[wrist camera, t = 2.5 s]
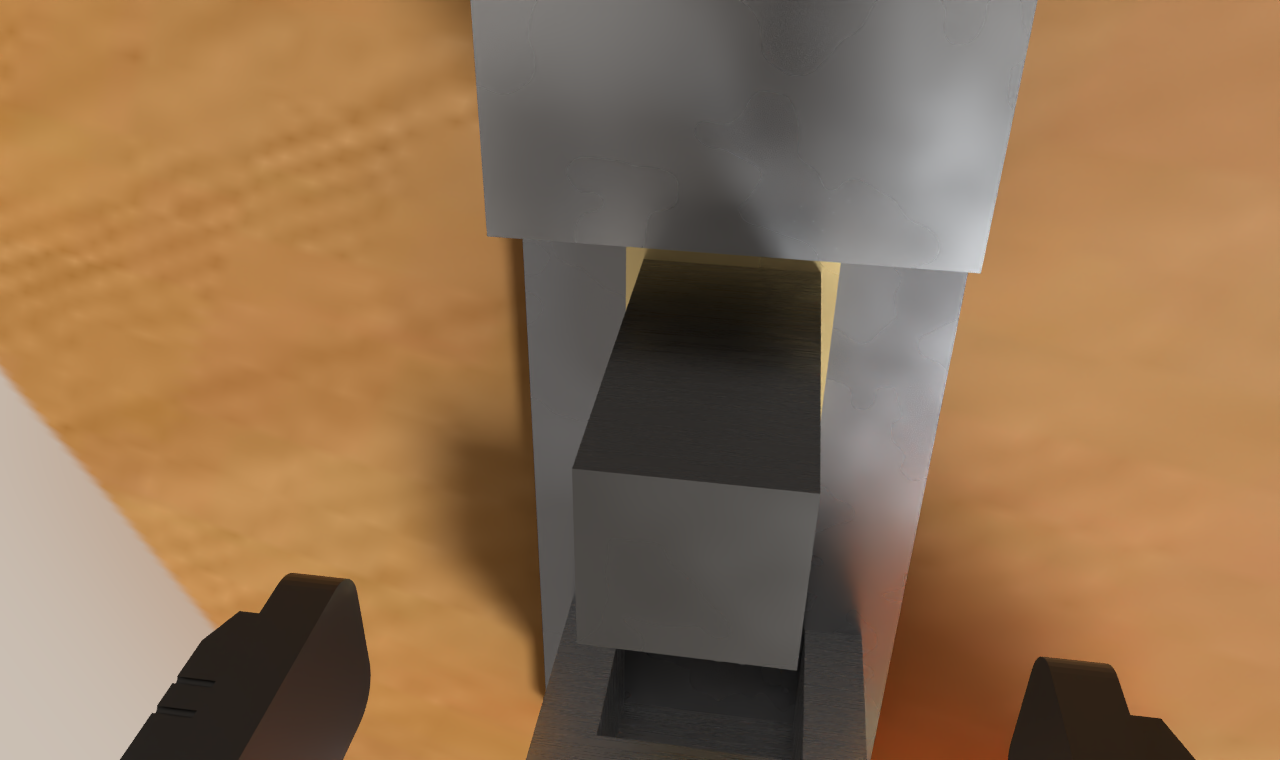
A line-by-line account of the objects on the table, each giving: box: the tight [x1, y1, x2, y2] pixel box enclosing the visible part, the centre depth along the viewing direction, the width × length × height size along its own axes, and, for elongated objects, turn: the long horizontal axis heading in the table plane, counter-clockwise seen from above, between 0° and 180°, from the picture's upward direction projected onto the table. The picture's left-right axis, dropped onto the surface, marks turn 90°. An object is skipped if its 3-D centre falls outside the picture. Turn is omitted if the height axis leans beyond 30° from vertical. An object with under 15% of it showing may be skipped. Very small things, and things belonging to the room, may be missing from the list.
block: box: [572, 247, 841, 671], centre depth 15 cm, size 16×4×9 cm, turn 179°
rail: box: [470, 0, 1037, 760], centre depth 21 cm, size 25×9×6 cm, turn 179°
